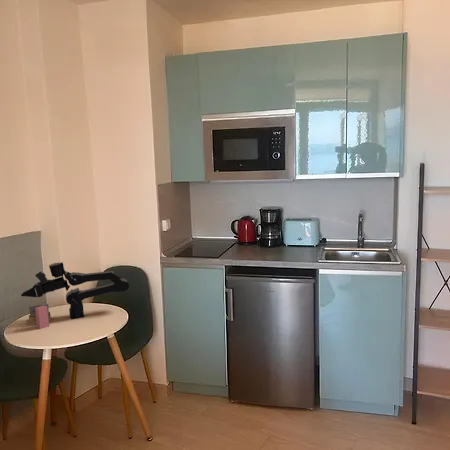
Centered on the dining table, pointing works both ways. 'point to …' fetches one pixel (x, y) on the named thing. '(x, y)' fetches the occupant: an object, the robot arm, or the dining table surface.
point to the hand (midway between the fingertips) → (22, 294)
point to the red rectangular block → (42, 317)
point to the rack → (33, 315)
